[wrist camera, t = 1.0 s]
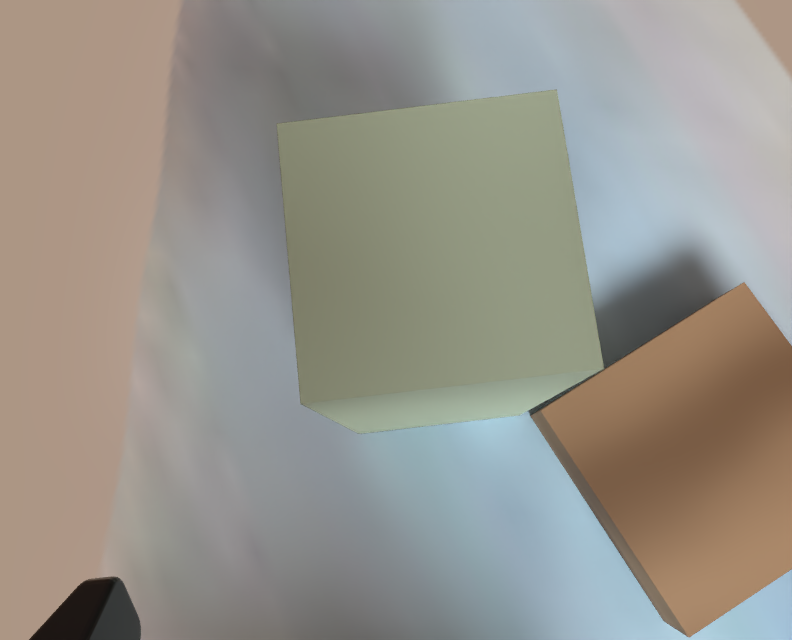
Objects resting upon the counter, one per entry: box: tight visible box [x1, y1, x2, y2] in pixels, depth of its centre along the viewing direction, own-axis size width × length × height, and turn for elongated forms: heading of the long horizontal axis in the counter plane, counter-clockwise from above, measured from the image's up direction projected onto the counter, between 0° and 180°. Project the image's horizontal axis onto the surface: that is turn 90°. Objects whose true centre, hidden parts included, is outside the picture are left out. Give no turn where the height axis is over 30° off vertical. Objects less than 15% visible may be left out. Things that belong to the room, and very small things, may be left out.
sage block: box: [277, 90, 604, 434], centre depth 18 cm, size 5×5×11 cm
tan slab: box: [531, 283, 792, 637], centre depth 22 cm, size 7×7×2 cm
